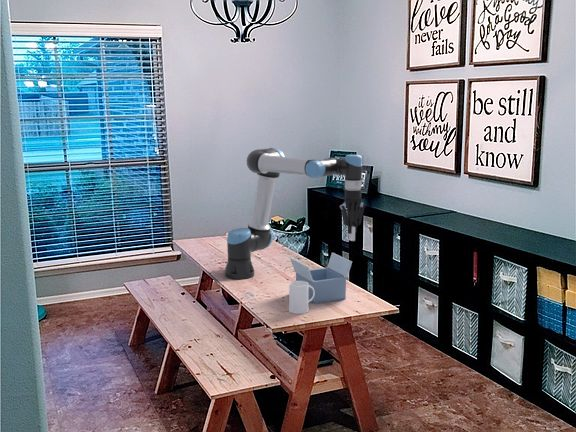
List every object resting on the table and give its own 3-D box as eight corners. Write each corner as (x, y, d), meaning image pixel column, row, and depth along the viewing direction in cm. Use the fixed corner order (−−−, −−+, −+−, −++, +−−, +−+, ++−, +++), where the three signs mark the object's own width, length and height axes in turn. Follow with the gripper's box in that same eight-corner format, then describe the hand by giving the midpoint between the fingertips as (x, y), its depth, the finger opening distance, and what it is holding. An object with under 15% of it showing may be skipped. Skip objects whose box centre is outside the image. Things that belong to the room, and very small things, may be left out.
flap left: (313, 281, 262) (312, 282, 261) (295, 271, 277) (294, 271, 277) (308, 266, 259) (307, 267, 259) (291, 257, 275) (289, 257, 275)
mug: (311, 305, 262) (311, 278, 259) (319, 311, 254) (319, 284, 252) (285, 308, 257) (285, 281, 255) (293, 315, 250) (293, 287, 247)
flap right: (351, 261, 268) (352, 261, 268) (332, 252, 284) (333, 252, 284) (346, 277, 268) (347, 277, 269) (327, 267, 284) (328, 267, 284)
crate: (313, 304, 263) (313, 282, 262) (295, 292, 279) (296, 271, 278) (345, 299, 270) (346, 277, 268) (326, 288, 286) (326, 267, 284)
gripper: (344, 191, 266) (343, 243, 271) (370, 189, 272) (368, 240, 276) (336, 189, 273) (335, 239, 277) (361, 187, 278) (359, 237, 283)
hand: (351, 240), depth 277 cm, fingers closed
